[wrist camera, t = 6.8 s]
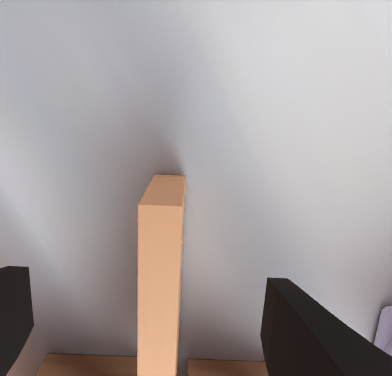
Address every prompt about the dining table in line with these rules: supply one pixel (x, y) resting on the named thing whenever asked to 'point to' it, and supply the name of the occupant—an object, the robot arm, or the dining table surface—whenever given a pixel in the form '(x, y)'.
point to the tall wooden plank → (160, 274)
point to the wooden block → (127, 366)
